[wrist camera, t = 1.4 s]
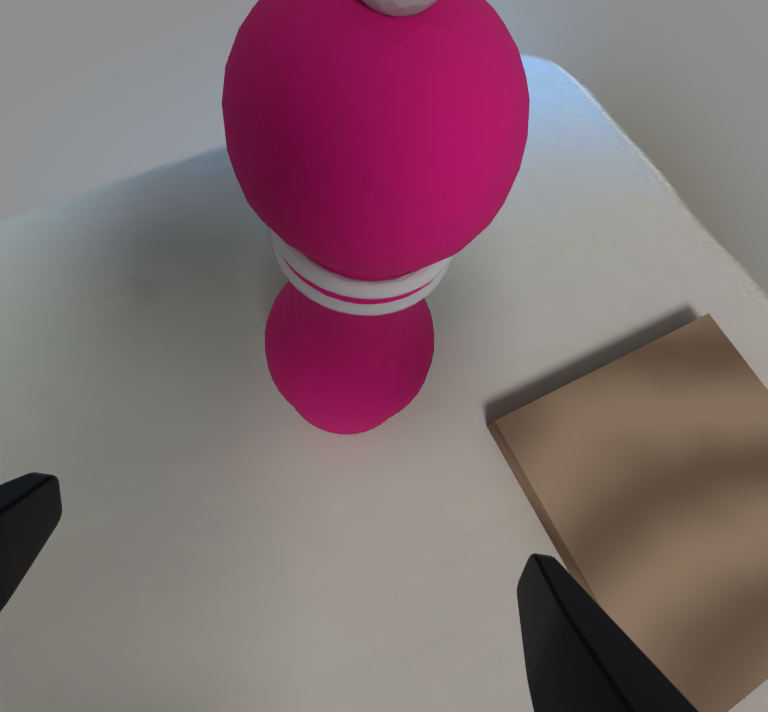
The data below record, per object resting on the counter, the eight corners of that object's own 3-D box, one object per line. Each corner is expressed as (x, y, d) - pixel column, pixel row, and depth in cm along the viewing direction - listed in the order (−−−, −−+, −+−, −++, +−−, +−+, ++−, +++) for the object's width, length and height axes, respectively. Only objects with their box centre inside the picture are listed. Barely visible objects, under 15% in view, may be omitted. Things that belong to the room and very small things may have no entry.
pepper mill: (357, 475, 22) (505, 191, 4) (245, 385, 23) (-68, -191, 5) (440, 367, 25) (769, -118, 6) (336, 289, 26) (362, -328, 7)
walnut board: (876, 565, 24) (903, 566, 23) (662, 737, 20) (682, 749, 19) (693, 322, 28) (708, 313, 27) (486, 425, 24) (494, 420, 23)
